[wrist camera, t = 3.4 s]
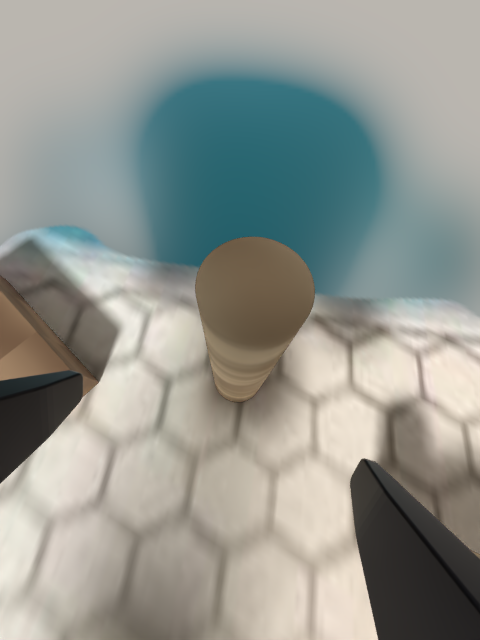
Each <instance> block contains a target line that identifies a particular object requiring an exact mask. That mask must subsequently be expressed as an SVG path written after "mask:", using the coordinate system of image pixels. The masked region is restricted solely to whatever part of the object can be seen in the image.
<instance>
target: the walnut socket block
mask: <svg viewBox="0 0 480 640" xmlns="http://www.w3.org/2000/svg"><path fill="white" fill-rule="evenodd" d="M66 370H72V371H76V372H79V373H81V374H82V375H83V396H84V395H85V394H86V393H88V392H89V391H90V390H91V389H92V388H93V387H94V386H95V385H97V384H98V383H99V382H98V381H97V380H96V379H95V377H94V376H93V375H92V374H91V373H90V372H89V371H88V370H87V369H86V367H85V366H84V365H83V364H82V363H81V362H80V361H79V360H78V359H77V358H76V356H75V355H74V354H73V353H72V352H71V351H70V350H69V349H68V348H67V346H66V345H65V344H64V343H63V342H62V341H61V340H60V339H59V338H58V337H57V335H56V334H55V333H54V332H53V331H52V330H51V329H50V328H49V327H48V325H47V324H46V323H45V322H44V321H43V320H42V319H41V318H40V317H39V316H38V314H37V313H36V312H35V311H34V310H33V309H32V308H31V307H30V306H29V304H28V303H27V302H26V301H25V300H24V299H23V298H22V297H21V296H20V295H19V293H18V292H17V291H16V290H15V289H14V288H13V287H12V286H11V285H10V283H9V282H8V281H7V280H6V279H5V278H3V277H2V276H0V381H1V380H8V379H14V378H21V377H27V376H34V375H40V374H47V373H53V372H60V371H66ZM83 396H82V397H83Z"/></svg>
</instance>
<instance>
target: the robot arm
mask: <svg viewBox="0 0 480 640" xmlns="http://www.w3.org/2000/svg"><path fill="white" fill-rule="evenodd" d="M82 396H83V375H82V374H81V373H79V372H76V371H72V370H66V371H60V372H53V373H47V374H40V375H34V376H27V377H21V378H14V379H8V380H1V381H0V483H1V482H2V481H3V480H5V479H6V478H7V477H8V476H9V475H10V474H11V473H12V472H13V471H14V470H15V469H16V468H17V467H18V466H19V465H20V464H21V463H22V462H24V461H25V460H26V459H27V458H28V457H29V456H30V455H31V454H32V453H33V452H34V451H35V450H36V449H37V448H38V447H39V446H40V445H41V444H43V443H44V442H45V441H46V440H47V439H48V438H49V437H50V436H51V434H52V433H53V432H54V431H55V430H56V429H57V428H58V427H59V425H60V424H61V423H62V422H63V421H64V420H65V418H66V417H67V416H68V415H69V414H70V413H71V411H72V410H73V409H74V408H75V407H76V406H77V405H78V403H79V402H80V401H81V399H82ZM350 488H351V497H352V507H353V516H354V525H355V533H356V538H357V544H358V548H359V553H360V557H361V562H362V567H363V571H364V576H365V580H366V585H367V590H368V594H369V599H370V604H371V608H372V613H373V617H374V622H375V627H376V631H377V636H378V640H480V559H479V558H478V557H477V556H476V555H475V554H474V553H473V552H472V551H471V550H470V549H469V548H468V547H467V546H466V545H464V544H463V543H462V542H461V541H460V540H459V539H458V538H457V537H456V536H455V535H454V534H453V533H452V532H451V531H449V530H448V529H447V528H446V527H445V526H444V525H443V524H442V523H441V522H440V521H439V520H438V519H437V518H436V517H435V516H433V515H432V514H431V513H430V512H429V511H428V510H427V509H426V508H425V507H424V506H423V505H422V504H421V503H420V502H418V501H417V500H416V499H415V498H414V497H413V496H412V495H411V494H410V493H409V492H408V491H407V490H406V489H405V488H403V487H402V486H401V485H400V484H399V483H398V482H397V481H396V480H395V479H394V478H393V477H392V476H391V475H390V474H388V473H387V472H386V471H385V470H384V469H383V468H382V467H381V466H380V465H379V464H378V463H376V462H375V461H371V460H368V459H362V460H361V461H360V462H359V464H358V466H357V467H356V469H355V471H354V473H353V475H352V477H351V481H350Z"/></svg>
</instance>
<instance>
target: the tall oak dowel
mask: <svg viewBox="0 0 480 640" xmlns="http://www.w3.org/2000/svg"><path fill="white" fill-rule="evenodd" d="M195 292H196V298H197V303H198V308H199V312H200V317H201V321H202V326H203V330H204V335H205V340H206V344H207V349H208V353H209V358H210V363H211V367H212V372H213V376H214V381H215V385H216V388H217V390H218V392H219V393H220V394H221V395H222V396H223V397H224V398H225V399H227V400H229V401H232V402H243V401H246V400H249V399H250V398H252V397H253V396H254V395H255V394H256V393H257V391H258V390H259V388H260V387H261V385H262V384H263V383H264V381H265V380H266V378H267V377H268V375H269V374H270V372H271V371H272V369H273V368H274V366H275V365H276V363H277V362H278V360H279V359H280V357H281V356H282V354H283V353H284V351H285V350H286V348H287V347H288V346H289V344H290V343H291V341H292V340H293V338H294V337H295V335H296V334H297V332H298V331H299V329H300V328H301V326H302V325H303V323H304V322H305V320H306V319H307V317H308V315H309V314H310V312H311V309H312V307H313V303H314V296H315V288H314V282H313V278H312V275H311V273H310V270H309V268H308V267H307V265H306V264H305V262H304V261H303V260H302V258H301V257H300V256H299V255H298V254H297V253H296V252H294V251H293V250H292V249H290V248H289V247H287V246H286V245H283V244H282V243H280V242H277V241H274V240H271V239H268V238H262V237H244V238H237V239H234V240H231V241H228V242H226V243H224V244H222V245H220V246H218V247H217V248H216V249H215V250H213V251H212V252H211V253H210V254H209V255H208V256H207V257H206V259H205V260H204V261H203V263H202V264H201V266H200V268H199V271H198V273H197V277H196V284H195Z"/></svg>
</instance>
